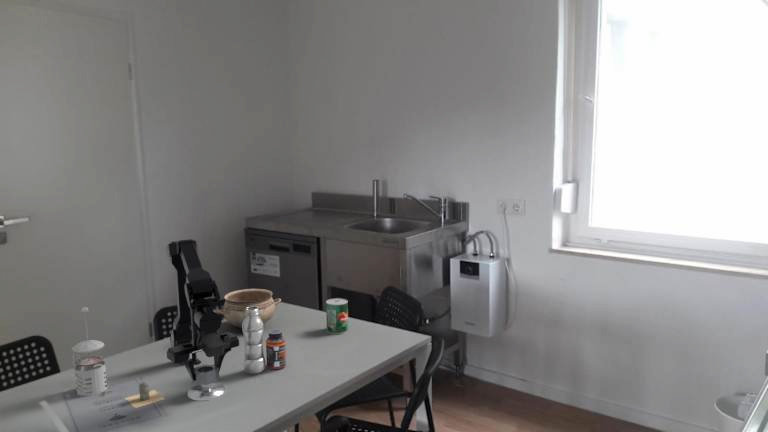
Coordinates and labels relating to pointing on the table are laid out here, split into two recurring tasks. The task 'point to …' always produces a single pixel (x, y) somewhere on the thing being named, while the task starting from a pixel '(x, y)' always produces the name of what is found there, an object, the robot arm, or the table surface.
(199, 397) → the disc
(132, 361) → the table surface
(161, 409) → the table surface
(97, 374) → the french press
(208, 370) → the collar
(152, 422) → the table surface
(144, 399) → the stand
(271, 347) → the supplement bottle
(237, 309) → the cooking pot
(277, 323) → the table surface
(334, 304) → the canned tomato
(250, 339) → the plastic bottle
